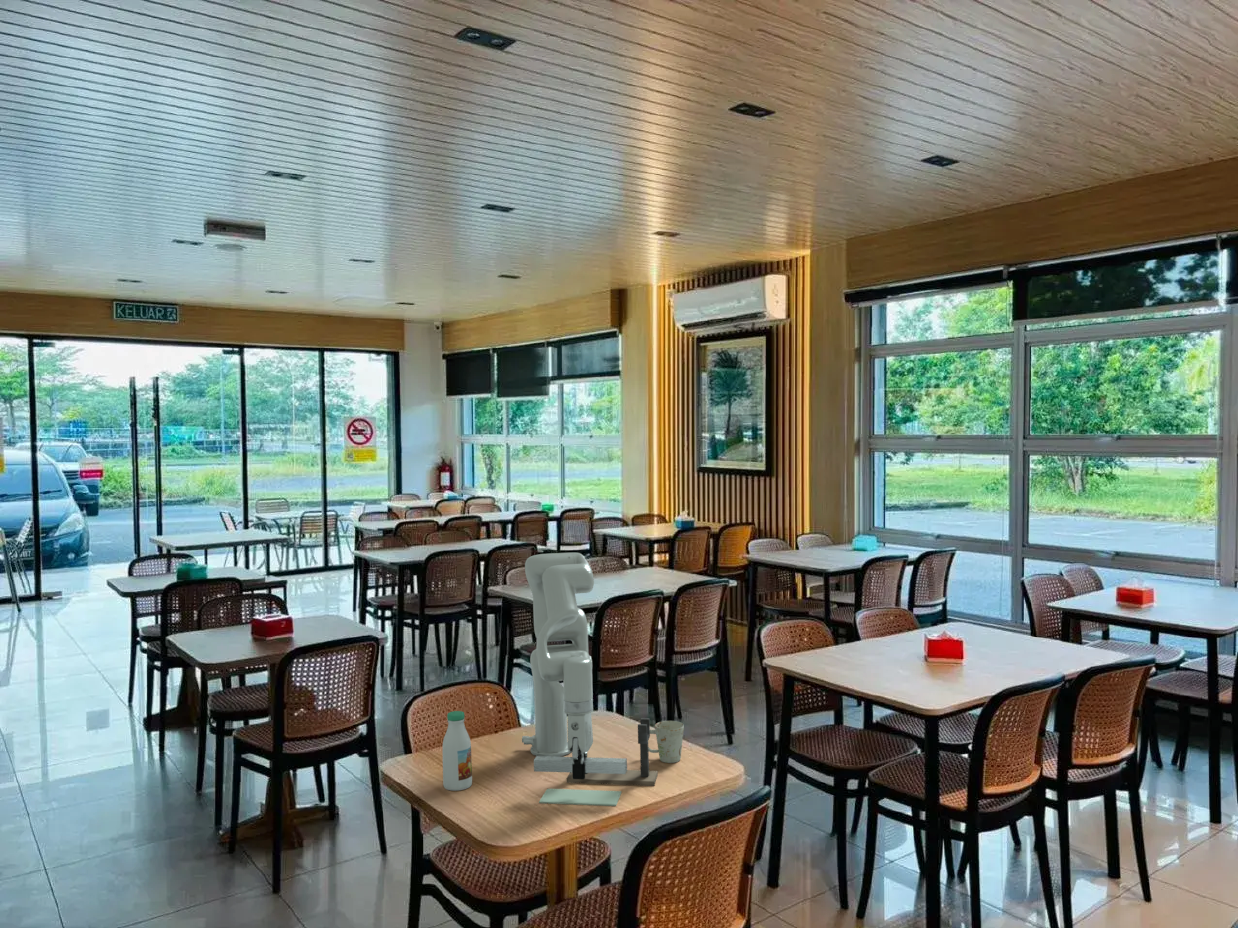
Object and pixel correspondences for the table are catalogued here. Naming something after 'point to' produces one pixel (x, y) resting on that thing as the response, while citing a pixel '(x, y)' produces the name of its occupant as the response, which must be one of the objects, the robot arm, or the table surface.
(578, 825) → the table surface
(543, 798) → the mat
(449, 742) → the milk bottle
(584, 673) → the robot arm
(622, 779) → the hook stand
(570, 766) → the rail
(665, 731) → the mug
